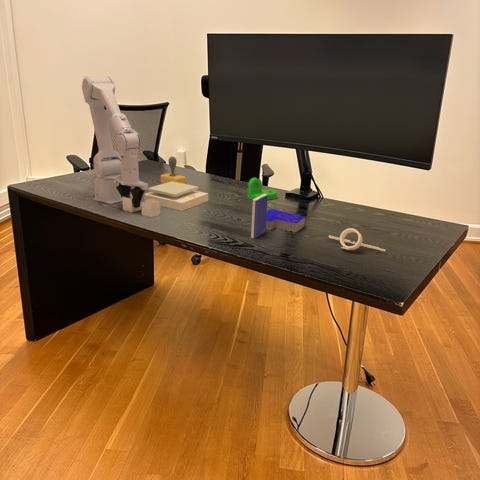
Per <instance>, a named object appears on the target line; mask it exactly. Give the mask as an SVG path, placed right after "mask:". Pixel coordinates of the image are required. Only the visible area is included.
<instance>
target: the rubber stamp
mask: <svg viewBox="0 0 480 480" xmlns="http://www.w3.org/2000/svg"><path fill="white" fill-rule="evenodd" d="M168 165H169V168H170V172H171V173H170V172H169V173H164V174H161V175H160V184H164V183H168V182H171V181H174V182H178V183H183V184H186V183H187V179H186V176H185V175H184V176H183V175H180V174H176V173H175V169H176V167H177V158H176V157H175V156H169V158H168Z"/></svg>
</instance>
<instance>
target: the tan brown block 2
mask: <svg viewBox="0 0 480 480" xmlns="http://www.w3.org/2000/svg"><path fill="white" fill-rule="evenodd" d="M159 215H161V206H160V201H157V200H153V199H148V200H145V201H144V200H141V216H144V217H146V218H147V217H148V218H154V217H158V216H159Z"/></svg>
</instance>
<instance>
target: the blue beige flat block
mask: <svg viewBox="0 0 480 480" xmlns="http://www.w3.org/2000/svg"><path fill="white" fill-rule="evenodd" d="M305 222H306V216H304V215H302V214H296V213H291V212H286V211H281V210H278V209H276V208H270V209H267V216H266V231H270V230H271V231H273V230H274V229H275V228H276V230H280V229H282V230H281V231H285V230H287V231H286V232H290V231H292V232H291V233H295V232H296V233H297V232H299V231H300V230H301V229H303V228H304V227H305Z"/></svg>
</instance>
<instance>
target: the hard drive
mask: <svg viewBox="0 0 480 480" xmlns="http://www.w3.org/2000/svg"><path fill="white" fill-rule="evenodd" d="M267 199H268V194H263V195H261V196H259V197H257V198H255V199H253V200H252V209H251V233H250V238H251V239H257V238H258V237H260V236H261V235H263V234H265V233H266V232H267V230H266V216H267V211H268V200H267Z"/></svg>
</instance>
